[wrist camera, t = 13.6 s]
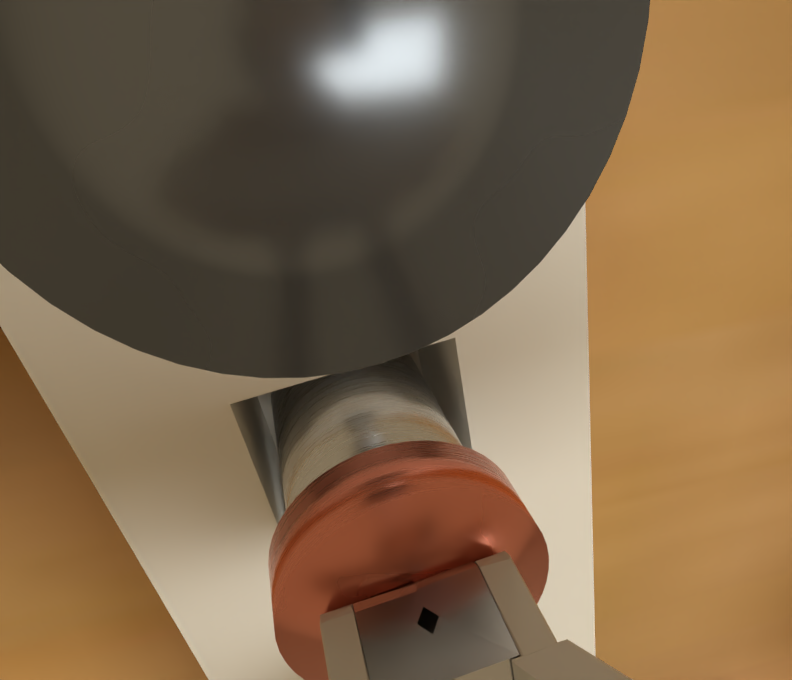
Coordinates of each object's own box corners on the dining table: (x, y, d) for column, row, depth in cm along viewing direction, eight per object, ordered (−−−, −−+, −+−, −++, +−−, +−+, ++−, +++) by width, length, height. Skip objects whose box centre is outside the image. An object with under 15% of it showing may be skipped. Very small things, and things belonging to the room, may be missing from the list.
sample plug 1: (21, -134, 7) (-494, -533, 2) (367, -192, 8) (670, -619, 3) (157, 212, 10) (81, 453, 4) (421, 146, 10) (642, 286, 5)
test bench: (-166, -258, 10) (-474, -480, 5) (430, -341, 11) (567, -572, 7) (282, 676, 23) (296, 829, 18) (529, 587, 24) (596, 711, 20)
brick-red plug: (227, 340, 13) (233, 553, 8) (417, 287, 14) (540, 453, 9) (282, 486, 15) (315, 729, 10) (444, 434, 16) (555, 639, 11)
